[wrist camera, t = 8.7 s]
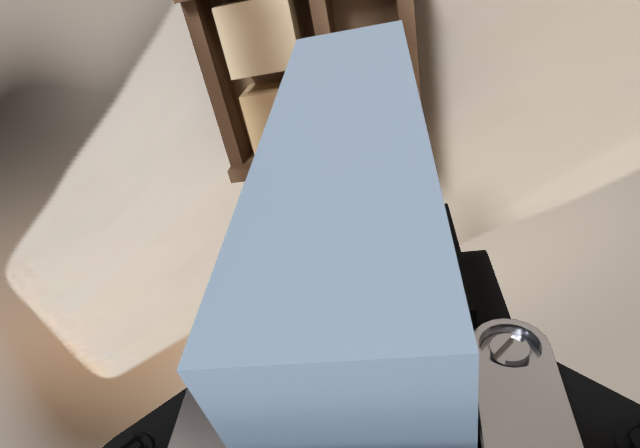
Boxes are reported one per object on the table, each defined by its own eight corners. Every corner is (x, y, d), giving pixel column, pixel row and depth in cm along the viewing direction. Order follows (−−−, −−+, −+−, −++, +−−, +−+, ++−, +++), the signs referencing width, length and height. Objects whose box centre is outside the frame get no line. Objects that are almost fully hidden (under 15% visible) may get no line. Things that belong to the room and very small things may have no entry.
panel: (401, 20, 13) (479, 353, 4) (422, 258, 18) (474, 617, 10) (296, 39, 13) (176, 370, 5) (346, 265, 19) (332, 611, 10)
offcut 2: (311, 74, 35) (306, 86, 32) (322, 131, 38) (318, 147, 35) (249, 84, 36) (238, 97, 33) (263, 139, 39) (254, 156, 36)
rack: (403, -65, 31) (408, -65, 27) (419, 132, 38) (425, 157, 34) (194, -20, 34) (169, -14, 29) (245, 157, 41) (231, 183, 36)
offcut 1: (295, -13, 32) (286, -7, 29) (308, 55, 35) (301, 68, 31) (227, 1, 33) (211, 8, 30) (244, 66, 36) (231, 80, 32)
